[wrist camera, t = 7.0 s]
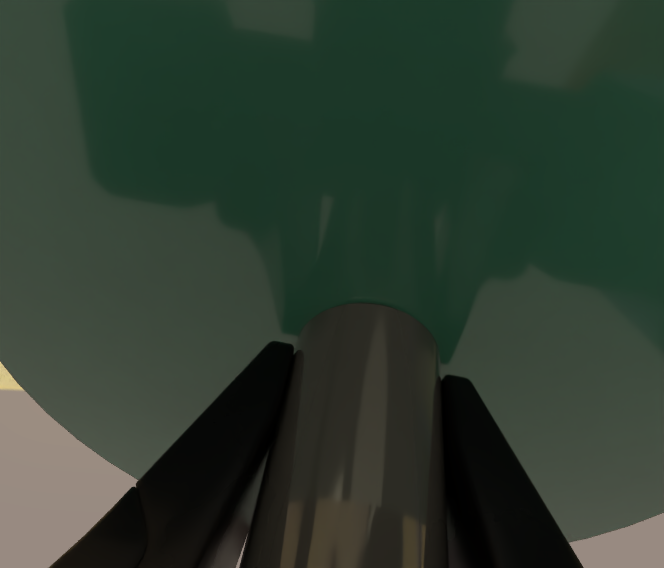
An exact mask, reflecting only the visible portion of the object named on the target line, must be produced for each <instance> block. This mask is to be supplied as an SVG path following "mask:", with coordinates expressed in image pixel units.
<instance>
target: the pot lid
mask: <svg viewBox="0 0 664 568" xmlns="http://www.w3.org/2000/svg"><path fill="white" fill-rule="evenodd" d="M271 341H279V342H284V343H289V344H292V345H293V346H294V355H293V359H292V363H291V367H290V371H289V375H288V379H287V383H286V387H285V391H284V395H283V399H282V403H281V407H280V411H279V415H278V419H277V422H276V426H275V429H274V432H273V436H272V440H271V444H270V448H269V452H268V456H267V460H266V464H265V468H264V472H263V476H262V480H261V484H260V488H259V492H258V496H257V500H256V504H255V508H254V512H253V515H252V519H251V523H250V527H249V531H248V535H247V539H246V543H245V548H244V551H243V555H242V559H241V563H240V567H239V568H449V550H448V526H447V502H446V478H445V454H444V430H443V406H442V382H441V381H442V379H443V377H444V376H445V375H448V374H450V375H455V376H460V377H465V378H468V379H469V380H470V381H471V382H472V383H473V385H474V387H475V388H476V390H477V392H478V393H479V395H480V397H481V398H482V400H483V402H484V403H485V405H486V407H487V408H488V410H489V412H490V413H491V415H492V417H493V418H494V420H495V422H496V423H497V425H498V427H499V428H500V430H501V432H502V433H503V435H504V437H505V438H506V440H507V442H508V443H509V445H510V446H511V448H512V450H513V451H514V453H515V455H516V456H517V458H518V460H519V461H520V463H521V465H522V466H523V468H524V470H525V471H526V473H527V475H528V476H529V478H530V480H531V481H532V483H533V485H534V486H535V488H536V490H537V491H538V493H539V495H540V496H541V498H542V500H543V501H544V503H545V505H546V506H547V508H548V510H549V511H550V513H551V514H552V516H553V518H554V519H555V521H556V523H557V524H558V526H559V528H560V529H561V531H562V533H563V534H564V536H565V538H566V539H567V541H568V543H569V542H573V541H577V540H582V539H586V538H591V537H593V536H597V535H601V534H604V533H607V532H611V531H614V530H618V529H621V528H624V527H628V526H630V525H633V524H636V523H638V522H641V521H644V520H646V519H649V518H651V517H654V516H657V515H659V514H662V513H664V0H0V362H1V363H2V364H3V365H4V367H5V368H6V369H7V370H8V372H9V373H10V374H11V375H12V377H13V378H14V379H15V380H16V382H17V383H18V384H19V385H20V386H21V387H22V388H23V389H24V390H25V391H26V392H27V393H28V394H29V395H30V396H31V397H32V398H33V399H34V400H35V401H36V402H37V403H38V404H39V405H40V406H41V408H43V410H44V411H45V412H46V413H47V414H49V415H50V416H51V417H52V418H53V419H54V420H56V421H57V422H58V423H59V424H60V425H61V426H63V427H64V428H65V429H66V430H67V431H68V432H70V433H71V434H72V435H73V436H74V437H76V438H77V439H78V440H79V441H81V442H82V443H83V444H85V445H86V446H87V447H89V448H90V449H92V450H93V451H94V452H96V453H97V454H99V455H100V456H101V457H103V458H104V459H105V460H107V461H108V462H110V463H111V464H113V465H115V466H116V467H118V468H119V469H121V470H123V471H125V472H126V473H128V474H129V475H131V476H133V477H134V478H136V479H137V480H139V479H140V478H141V477H142V476H143V475H144V474H145V473H146V472H147V471H148V470H149V469H150V468H151V467H152V466H153V465H154V463H155V462H156V461H157V460H158V459H159V458H160V457H161V456H162V455H163V454H164V453H165V452H166V451H167V450H168V449H169V448H170V447H171V445H172V444H173V443H174V442H175V441H176V440H177V439H178V438H179V437H180V436H181V435H182V434H183V433H184V432H185V431H186V430H187V429H188V428H189V426H190V425H191V424H192V423H193V422H194V421H195V420H196V419H197V418H198V417H199V416H200V415H201V414H202V413H203V412H204V411H205V410H206V409H207V407H208V406H209V405H210V404H211V403H212V402H213V401H214V400H215V399H216V398H217V397H218V396H219V395H220V394H221V393H222V392H223V391H224V390H225V388H226V387H227V386H228V385H229V384H230V383H231V382H232V381H233V380H234V379H235V378H236V377H237V376H238V375H239V374H240V373H241V372H242V370H243V369H244V368H245V367H246V366H247V365H248V364H249V363H250V362H251V361H252V360H253V359H254V358H255V357H256V356H257V355H258V354H259V353H260V351H261V350H262V349H263V348H264V347H265V346H266V345H267V344H268V343H269V342H271Z"/></svg>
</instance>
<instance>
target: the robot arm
mask: <svg viewBox="0 0 664 568" xmlns="http://www.w3.org/2000/svg"><path fill="white" fill-rule="evenodd" d="M293 355H294V346H293V345H292V344H289V343H284V342H279V341H271V342H269V343H268V344H267V345H266V346H265V347H264V348H263V349H262V350H261V351H260V353H259V354H258V355H257V356H256V357H255V358H254V359H253V360H252V361H251V362H250V363H249V364H248V365H247V366H246V367H245V368H244V369H243V370H242V372H241V373H240V374H239V375H238V376H237V377H236V378H235V379H234V380H233V381H232V382H231V383H230V384H229V385H228V386H227V387H226V388H225V390H224V391H223V392H222V393H221V394H220V395H219V396H218V397H217V398H216V399H215V400H214V401H213V402H212V403H211V404H210V405H209V406H208V407H207V409H206V410H205V411H204V412H203V413H202V414H201V415H200V416H199V417H198V418H197V419H196V420H195V421H194V422H193V423H192V424H191V425H190V426H189V428H188V429H187V430H186V431H185V432H184V433H183V434H182V435H181V436H180V437H179V438H178V439H177V440H176V441H175V442H174V443H173V444H172V445H171V447H170V448H169V449H168V450H167V451H166V452H165V453H164V454H163V455H162V456H161V457H160V458H159V459H158V460H157V461H156V462H155V463H154V465H153V466H152V467H151V468H150V469H149V470H148V471H147V472H146V473H145V474H144V475H143V476H142V477H141V478H140V479H139V480H138V481H137V483H136V487H132V488H131V489H130V490H129V491H128V492H127V493H126V494H125V495H124V496H123V497H122V498H121V499H120V500H119V501H118V502H117V503H116V504H115V505H114V507H113V508H112V509H111V510H110V511H108V512H107V513H106V514H105V516H104V517H103V518H101V519H100V521H98V522H97V524H95V525H94V526H93V527H92V528H91V530H90V531H89V532H87V534H86V535H85V536H83V537H82V538H81V539H80V540H79V541H78V542H77V543H76V544H75V545H74V546H72V547H71V548H70V549H69V550H68V551H67V552H66V553H65V554H63V555H62V556H61V557H60V558H59V559H58V560H57V561H56V562H55V563H53V564H52V565H51V566H50V567H49V568H236V565H237V562H238V559H239V557H240V554H241V551H242V548H243V545H244V542H245V539H246V537H247V534H248V531H249V527H250V523H251V519H252V515H253V512H254V508H255V504H256V500H257V496H258V492H259V488H260V484H261V480H262V476H263V472H264V468H265V464H266V460H267V456H268V452H269V448H270V444H271V440H272V436H273V432H274V429H275V426H276V422H277V419H278V415H279V411H280V407H281V403H282V399H283V395H284V391H285V387H286V383H287V379H288V375H289V371H290V367H291V363H292V359H293ZM441 382H442V406H443V430H444V454H445V478H446V502H447V526H448V550H449V568H583V566H582V564H581V563H580V561H579V559H578V558H577V556H576V555H575V553H574V551H573V550H572V548H571V546H570V544H569V543H568V541H567V539H566V538H565V536H564V534H563V533H562V531H561V529H560V528H559V526H558V524H557V523H556V521H555V519H554V518H553V516H552V514H551V513H550V511H549V510H548V508H547V506H546V505H545V503H544V501H543V500H542V498H541V496H540V495H539V493H538V491H537V490H536V488H535V486H534V485H533V483H532V481H531V480H530V478H529V476H528V475H527V473H526V471H525V470H524V468H523V466H522V465H521V463H520V461H519V460H518V458H517V456H516V455H515V453H514V451H513V450H512V448H511V446H510V445H509V443H508V442H507V440H506V438H505V437H504V435H503V433H502V432H501V430H500V428H499V427H498V425H497V423H496V422H495V420H494V418H493V417H492V415H491V413H490V412H489V410H488V408H487V407H486V405H485V403H484V402H483V400H482V398H481V397H480V395H479V393H478V392H477V390H476V388H475V387H474V385H473V383H472V382H471V381H470V380H469V379H468V378H465V377H460V376H455V375H450V374H448V375H445V376H444V377H443V379H442V381H441Z"/></svg>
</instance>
